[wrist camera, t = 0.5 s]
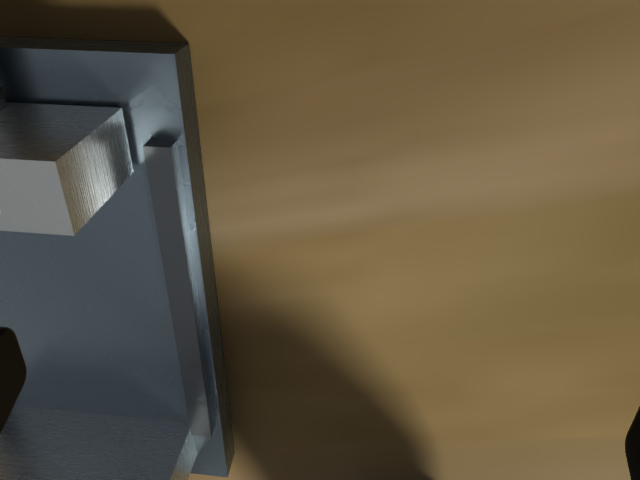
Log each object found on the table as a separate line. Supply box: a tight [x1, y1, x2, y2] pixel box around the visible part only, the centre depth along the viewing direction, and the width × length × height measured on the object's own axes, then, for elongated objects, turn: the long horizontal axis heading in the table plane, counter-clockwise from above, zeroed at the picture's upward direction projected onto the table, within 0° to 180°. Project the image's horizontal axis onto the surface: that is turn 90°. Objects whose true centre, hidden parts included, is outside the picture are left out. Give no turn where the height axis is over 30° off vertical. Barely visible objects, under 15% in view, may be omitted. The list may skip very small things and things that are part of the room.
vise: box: [0, 37, 234, 480], centre depth 24 cm, size 22×13×6 cm, turn 0°
